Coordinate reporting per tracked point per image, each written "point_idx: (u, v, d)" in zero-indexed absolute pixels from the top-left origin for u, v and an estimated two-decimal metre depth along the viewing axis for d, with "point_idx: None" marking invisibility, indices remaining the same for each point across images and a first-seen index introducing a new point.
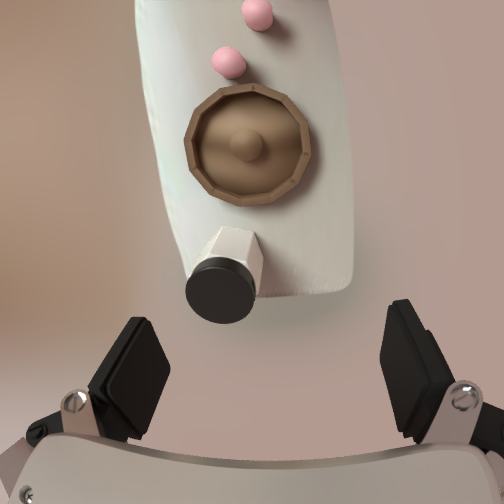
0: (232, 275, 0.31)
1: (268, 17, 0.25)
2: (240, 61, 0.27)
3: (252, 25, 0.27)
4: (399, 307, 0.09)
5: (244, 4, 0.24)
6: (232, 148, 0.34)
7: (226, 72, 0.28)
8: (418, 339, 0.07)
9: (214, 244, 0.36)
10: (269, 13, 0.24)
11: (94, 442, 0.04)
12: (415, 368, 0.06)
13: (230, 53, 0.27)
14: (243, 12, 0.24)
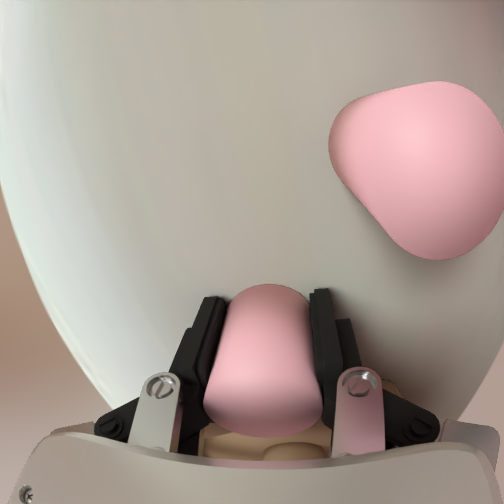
0: None
1: None
2: (315, 418, 0.08)
3: None
4: (316, 295, 0.10)
5: (391, 124, 0.04)
6: None
7: (261, 435, 0.08)
8: (323, 324, 0.09)
9: None
10: (494, 218, 0.04)
11: (94, 442, 0.04)
12: (315, 350, 0.08)
13: (278, 399, 0.07)
14: (380, 191, 0.05)
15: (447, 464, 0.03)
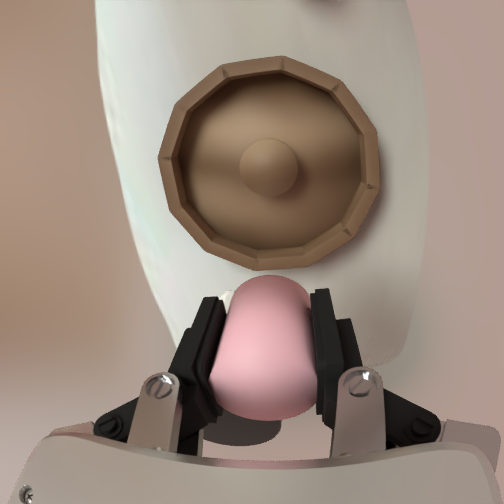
0: None
1: None
2: (313, 399, 0.08)
3: None
4: (317, 295, 0.10)
5: None
6: (243, 173, 0.19)
7: (262, 418, 0.09)
8: (324, 324, 0.09)
9: None
10: None
11: (94, 442, 0.04)
12: (316, 350, 0.08)
13: (278, 379, 0.08)
14: None
15: (447, 464, 0.03)
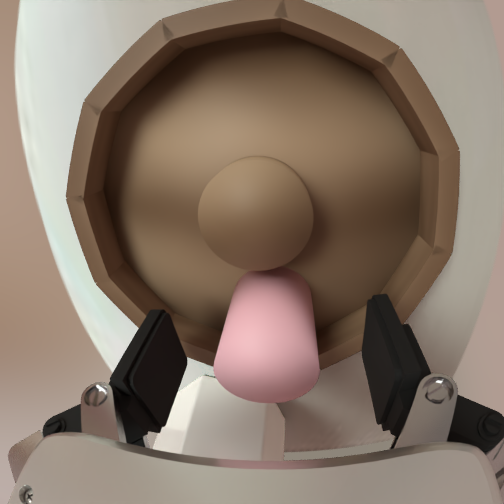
0: None
1: None
2: (313, 381, 0.09)
3: None
4: (377, 301, 0.09)
5: None
6: (206, 229, 0.10)
7: (265, 400, 0.10)
8: (393, 332, 0.08)
9: None
10: None
11: (94, 442, 0.04)
12: (389, 360, 0.07)
13: (280, 359, 0.09)
14: None
15: (447, 464, 0.03)
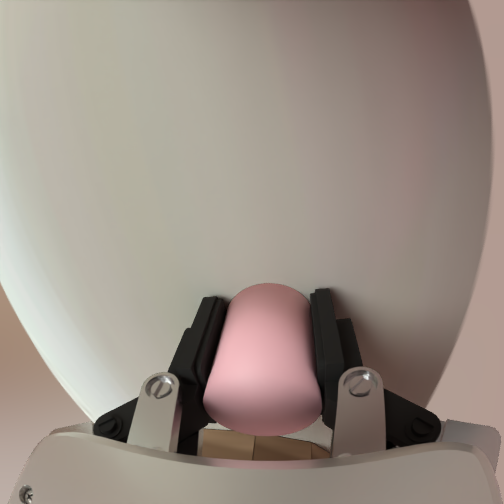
0: None
1: None
2: None
3: None
4: (317, 295, 0.10)
5: (212, 393, 0.07)
6: None
7: None
8: (324, 324, 0.09)
9: None
10: (307, 423, 0.08)
11: (94, 442, 0.04)
12: (316, 350, 0.08)
13: None
14: (213, 414, 0.08)
15: (447, 464, 0.03)
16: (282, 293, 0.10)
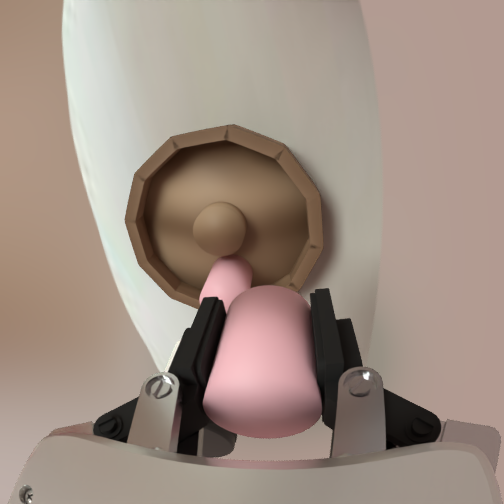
0: None
1: None
2: None
3: None
4: (317, 295, 0.10)
5: (212, 396, 0.07)
6: (197, 237, 0.22)
7: None
8: (324, 324, 0.09)
9: None
10: (307, 425, 0.08)
11: (94, 442, 0.04)
12: (316, 350, 0.08)
13: (227, 294, 0.21)
14: (213, 416, 0.08)
15: (447, 464, 0.03)
16: (281, 294, 0.10)
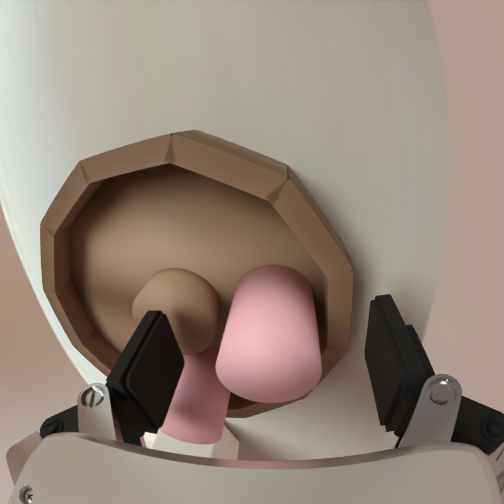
0: None
1: None
2: (219, 436, 0.12)
3: None
4: (380, 302, 0.09)
5: (225, 357, 0.09)
6: None
7: (191, 442, 0.12)
8: (397, 333, 0.08)
9: None
10: (309, 388, 0.09)
11: (94, 442, 0.04)
12: (393, 361, 0.07)
13: (190, 422, 0.11)
14: (224, 379, 0.09)
15: (447, 464, 0.03)
16: (285, 272, 0.12)
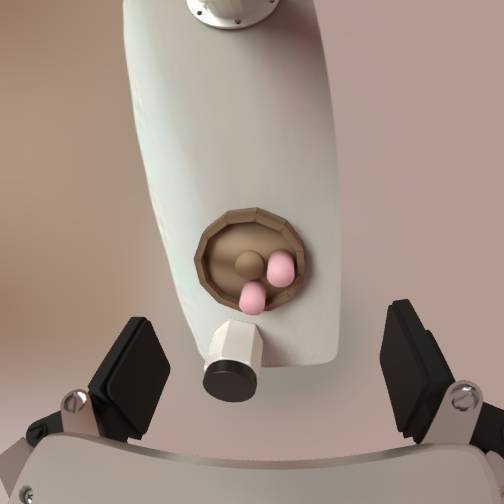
0: (239, 377, 0.38)
1: None
2: (263, 307, 0.40)
3: None
4: (399, 307, 0.09)
5: (269, 270, 0.37)
6: (237, 269, 0.41)
7: (252, 314, 0.41)
8: (418, 339, 0.07)
9: (223, 345, 0.43)
10: (291, 280, 0.38)
11: (94, 442, 0.04)
12: (415, 368, 0.06)
13: (254, 300, 0.40)
14: (268, 278, 0.38)
15: (447, 464, 0.03)
16: (284, 250, 0.40)
